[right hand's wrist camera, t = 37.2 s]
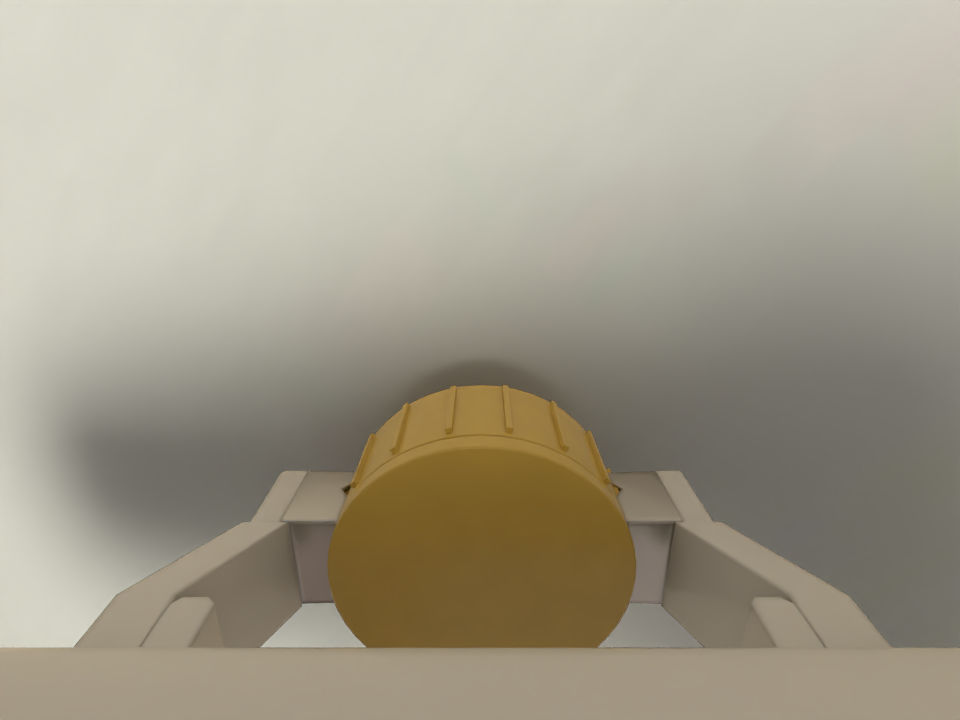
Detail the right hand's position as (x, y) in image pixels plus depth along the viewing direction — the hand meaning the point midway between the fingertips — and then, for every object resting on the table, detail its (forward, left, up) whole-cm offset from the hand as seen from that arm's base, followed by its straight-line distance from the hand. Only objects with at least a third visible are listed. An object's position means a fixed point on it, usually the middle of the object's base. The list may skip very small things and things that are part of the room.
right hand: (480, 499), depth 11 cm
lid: (0, 0, +2) cm, 2 cm away
